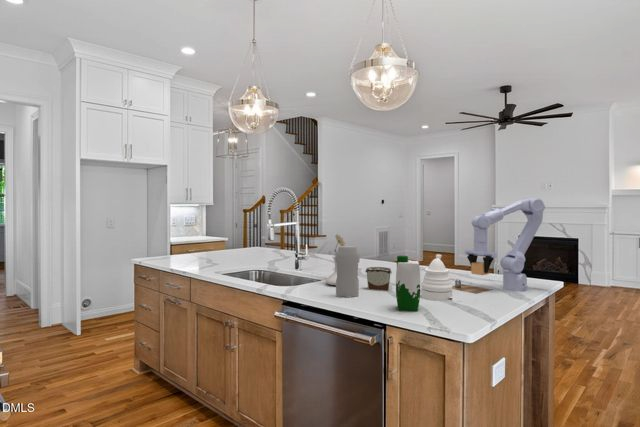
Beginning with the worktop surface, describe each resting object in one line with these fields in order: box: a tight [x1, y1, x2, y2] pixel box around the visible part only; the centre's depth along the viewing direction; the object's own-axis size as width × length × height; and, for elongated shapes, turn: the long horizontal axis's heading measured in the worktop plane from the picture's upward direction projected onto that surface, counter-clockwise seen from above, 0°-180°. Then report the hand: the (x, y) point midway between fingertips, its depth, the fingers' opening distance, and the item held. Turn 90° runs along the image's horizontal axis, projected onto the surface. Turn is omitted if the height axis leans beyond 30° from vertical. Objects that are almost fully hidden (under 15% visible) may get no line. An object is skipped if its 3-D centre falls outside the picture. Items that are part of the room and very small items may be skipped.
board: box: [452, 283, 494, 295], centre depth 184 cm, size 16×14×1 cm
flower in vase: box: [325, 233, 346, 286], centre depth 198 cm, size 13×11×25 cm
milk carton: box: [395, 255, 421, 312], centre depth 153 cm, size 9×9×20 cm
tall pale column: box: [334, 245, 361, 298], centre depth 173 cm, size 11×4×22 cm, turn 95°
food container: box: [364, 266, 393, 292], centre depth 188 cm, size 12×6×10 cm, turn 71°
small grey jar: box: [454, 278, 462, 288], centre depth 186 cm, size 3×3×4 cm
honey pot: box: [420, 254, 453, 302], centre depth 172 cm, size 13×13×18 cm
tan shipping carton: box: [470, 261, 490, 276], centre depth 183 cm, size 5×5×5 cm
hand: (480, 271), depth 183 cm, fingers closed on tan shipping carton, 5 cm apart
